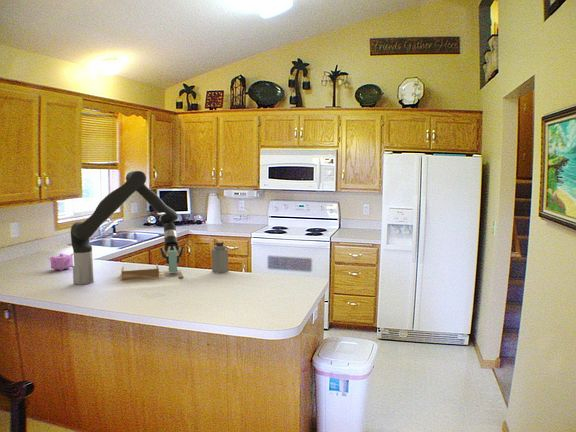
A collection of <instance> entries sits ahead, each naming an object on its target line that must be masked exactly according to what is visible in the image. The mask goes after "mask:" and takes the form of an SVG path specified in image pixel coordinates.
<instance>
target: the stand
mask: <svg viewBox="0 0 576 432" xmlns="http://www.w3.org/2000/svg"><path fill="white" fill-rule="evenodd" d="M155 265H156V268H147V269H133V270H131V269H130V270H125V269H124V268H125V267H124V266H123V265H122V266H121V273H120V275H119V282H124V281H125V282H127V281H128V282H129V281H139V280H151V279H165V278H166V279H167V278H176V277H177V278H178V279H184V275H183V272H182V270H181V269H179V270H178V269H177V272H169V270H165V271H164V270H162V271H160V268H159V264H158V263H156V264H155Z"/></svg>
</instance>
